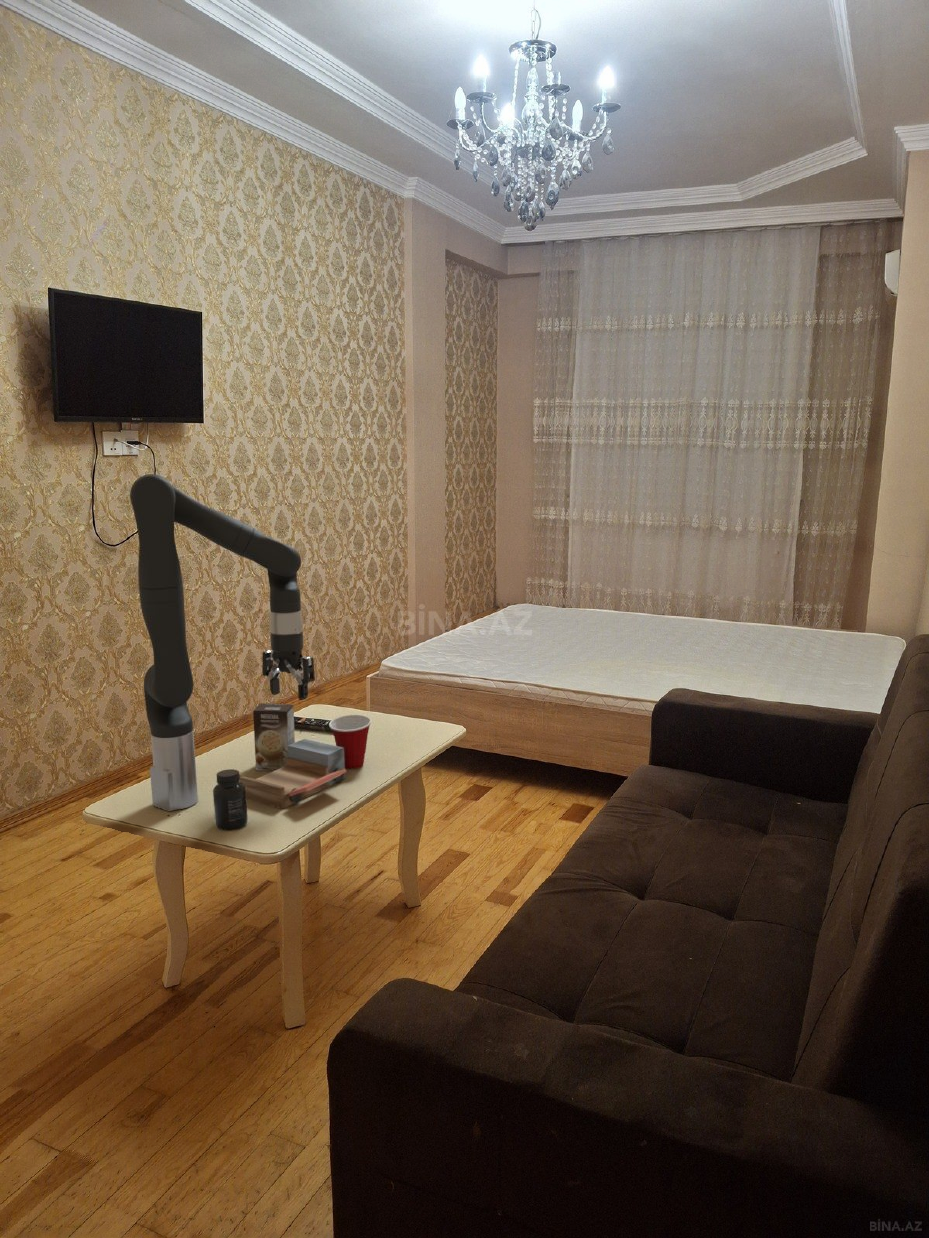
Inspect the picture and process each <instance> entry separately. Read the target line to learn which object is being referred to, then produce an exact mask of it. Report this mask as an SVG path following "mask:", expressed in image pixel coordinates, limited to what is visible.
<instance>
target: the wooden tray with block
mask: <svg viewBox="0 0 929 1238" xmlns="http://www.w3.org/2000/svg"><path fill="white" fill-rule="evenodd" d="M343 769H346V768H345V762H344V748H343V747H339V746H336V745H333V744H329V743H324V742H320V741H315V740H311V739H308V738H303V739H301V740H298V741H295V743H293V744H291V745H288V757H287V758H286V766H285V767H282V768H280V769H278V770H275V771H270V772H268V773H267V774H264V775H262V776H260V777H257V778H252V777H248V776H246V775H245V776H244V775H243V776H240V782H242V783H243V784H244V786H245V791H246V800H248V801H252V802H255V803H259V804H263V805H267V806H270V807H273V808H277V809H281V810H284V809H285V808H288V807H289V806H292V805H293V804H297V803H299V802H300V801H302V800H305V799H306V798H308V797H310V796H312V795H314V794H316V793H318V792H320V791H322V790H324V789H326V788H328V787H330V786H333V785H335V784H336V783H340V782H342V781H343V780H345V779H346V772H345V773H343V774H341V775H340V776H338V777H336V778H334V779H332V780H330V781H328V782H326V783H323V784H321V785H319V786H317V787H315V788H313V789H311V790H309V791H305V792H302V793H298V794H295V795H292V796H289V792H292V791H294V790H296V789H298V788H300V787H302V786H304V785H306V784H309V783H311V782H313V781H315V780H317V779H319V778H321V777H323V776H326V775H328V774H331V773H334V772H337V771H340V770H343Z"/></svg>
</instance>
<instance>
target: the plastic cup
mask: <svg viewBox="0 0 929 1238" xmlns="http://www.w3.org/2000/svg"><path fill="white" fill-rule="evenodd" d="M371 724H372V718H371V717H369V716H367V715H364V714H346V715H342V716H338V717H335V718H334V719H332V720H330V721H329V724H328V726H329V728H330V729H331V732H332V735H333V737H334V741H335V746H339V747H343V748H344V762H345V769H346V770H347V769H349V770H351V769H353V770H354V769H358V768H361V767H363V766H364V763H365V756H366V750H367V744H368V743H367V741H368V735H369V731H370V726H371Z"/></svg>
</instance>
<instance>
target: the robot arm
mask: <svg viewBox="0 0 929 1238" xmlns="http://www.w3.org/2000/svg"><path fill="white" fill-rule="evenodd" d="M129 492H130V493H129V500H130V503H131V506H132V510H133V515H134V518H135V519H134V520H135V523H136V530H137V535H138V536H137V537H138V562H137V565H138V566H137V571H138V573H137V574H138V575H137V578H138V583H137V584H138V593H139V604H140V609H141V613H142V617H143V621H144V624H145V628H146V630H147V633H148V636H149V639H150V643H151V646H152V652H153V664H152V665H151V666H150V667H148V669H147V671H146V672H145V675H144V678H143V691H144V692H143V694H144V702H145V703H144V704H145V711H146V718H147V721H148V725H149V728H150V738H151V739H150V740H151V750H152V751H151V752H152V753H151V754H152V762H153V763H152V766H150V767H149V773H150V774H149V776H150V787H151V788H150V789H151V799H152V807H154V806H156V807H155V808H157V807H158V809H160V808H162V809H161V810H165V811H167V812H173V811H175V810H176V811H177V810H181V809H186V808H190V807H192V806H194V805H195V804H196V803H198V802H199V794H198V781H197V780H198V777H197V768H196V767H197V766H196V751H195V737H194V726H193V723H194V722H193V718H192V716H191V714H190V710H189V707H188V703H187V702H188V701H189V699H191V697H192V694H193V691H194V678H193V673H192V667H191V664H190V663H191V662H190V658H189V653H188V648H187V636H186V635H187V631H186V630H187V629H186V611H185V595H184V593H185V592H184V584H183V583H184V582H183V575H182V571H181V570H182V568H181V564H180V559H179V556H178V555H179V554H178V550H177V546H176V539H175V523H176V524H179V525H181V526H183V527H185V528H188V529H190V530H192V531H193V532H195V533H197V534H199V535H200V536H202V537H204V538H206V539H208V540H209V541H211V542H212V543H214V544H215V545H218V546H219V547H221V548H223V549H226V550H227V551H230V552H232V553H233V554H235V555H238V556H240V557H242V558H244V559H247V560H249V561H252V562H254V563H255V564H257V565H259V566H260V567H263V568H265V569H266V570H267V576H268V585H269V611H270V613H269V632H270V633H269V635H270V636H269V637H270V638H269V639H270V649H269V650H266V651H262V654H261V655H262V658H261V659H262V671H261V672H262V676H264V677H267V678H268V679H269V691H270V693H271V695H273V696H276V695H279V694H280V693H281V689H280V688H281V687H280V678H279V677H280V675H281V673H287V674H291V676H292V677H293V678H295V680H296V682H297V684H298V685H297V694H298V695H297V697H298V700H299V701H304V700H306V699H307V698H308V696H309V687H308V685H309V684H310V683H312V682H314V681H315V680H316V677H315V664H314V658H313V656H312V655H310V656H306V657H305V656H303V653H302V652H303V648H304V631H303V630H304V629H303V616H302V607H301V605H302V604H301V603H302V602H301V591H300V588H299V585H298V572H299V570H300V568H301V566H302V559H301V554H300V553H299V551H298V550H297V549H296V548H294V547H292V546H291V545H289V544H287V543H284V542H283V543H282V542H281V541H279V540H277V539H275V538H272V537H270V536H267V535H266V534H264V533H263V532H262V531H260V530H258V529H257V528H254V527H252V526H250V525H248V524H247V523H244V522H242V521H241V520H238V519H237V518H234V517H232V516H230V515H228V514H226V513H223V512H221V511H218V510H215V509H213V508H212V507H209V506H207V505H205V504H203V503H201V502H199V501H197V500H195V499H194V498H192V497H190V496H188V495H187V494H186V493H184V492H182V491H181V490H180V489H178V488H177V487H175V486H174V485H173V484H171V482H170V481H169V480H168V479H167V478H165V477H163V476H162V475H160V474H156V473H150V474H149V473H148V474H144V475H142V476H141V475H140V477H138V478H137V479H135V481H134V482H133V484H132V486H131V488H130V491H129Z"/></svg>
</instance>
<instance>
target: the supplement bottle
mask: <svg viewBox="0 0 929 1238" xmlns="http://www.w3.org/2000/svg"><path fill="white" fill-rule="evenodd" d="M212 797H213V807H214V821H215V826H216V828H217V829H218V830H221V831H226V832H227V831H236V830H239V829H242V828H244V827H245V826H247V824H248V806H247V799H246V791H245V786H244V784H243V783H242V782H241V776H240V771H239V770H238V769H233V768H232V769H229V768H228V769H223V770H220V771H218V772H216V785H215V786H214V787H213V789H212Z"/></svg>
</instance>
